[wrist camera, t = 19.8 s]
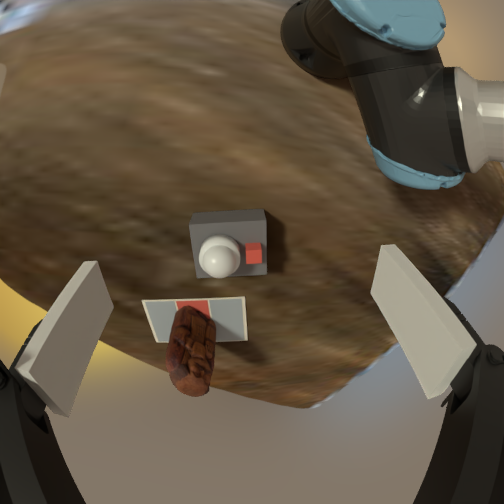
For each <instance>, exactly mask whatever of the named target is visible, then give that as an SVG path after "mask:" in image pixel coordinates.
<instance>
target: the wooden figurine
mask: <svg viewBox="0 0 504 504" xmlns="http://www.w3.org/2000/svg"><path fill="white" fill-rule="evenodd" d="M215 344H216V325H215V323H214V321H213V320H212V319H207V318H206V316H205V315H203V313H201V312H200V311H197V312H196V311H195V310H193V308H191V307H190V306H188V305H187V306H183V307H182V308H180V309H179V310H178V311H177V312H176V313H175V316H174V320H173V324H172V327H171V332H170V336H169V343H168V347H167V351H166V368H167V370H168V371H169V372H170V374H169V375H170V378H171V381H172V383H173V385H174V386H175V387H176V388H177V389H178V390H179V391H180V392H182V393H183V394H186V395H189V396H194V397H198V396H202V395H204V394H206V393H208V391H209V385H210V381H211V376H212V372H213V368H214V356H215Z"/></svg>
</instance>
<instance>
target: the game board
mask: <svg viewBox="0 0 504 504" xmlns="http://www.w3.org/2000/svg"><path fill="white" fill-rule="evenodd" d="M142 303H143V306H144V309H145V312H146V315H147V318H148V321H149V323H150V326H151V329H152V332H153V334H154V337H155V340H156V342H169V336H170V332H171V327H172V324H173V320H174V316H175V313H176V312H177V311H178V310H179V309H180V308H182V307H183V306H187V305H188V306H190V307H191V308H193V310H195V311H196V312H197V311H200V312H201V313H203V315H205V316H206V318H207V319H212V320H213V321H214V323H215V325H216V342H224V341H245V340H248V337H247V322H246V306H245V297H226V298H202V299H170V300H142Z"/></svg>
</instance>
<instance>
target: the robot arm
mask: <svg viewBox="0 0 504 504" xmlns="http://www.w3.org/2000/svg"><path fill="white" fill-rule="evenodd" d="M445 27H446V21H445V16H444V12H443V10H442V7H441V5H440V3H439V1H438V0H300V1H298V2H297V3H295V4H294V5H293V6H292V7H291V8H290V9H289V10H288V12H287V13H286V15H285V17H284V18H283V21H282V24H281V40H282V43H283V46H284V48H285V50H286V52H287V54H288V55H289V56H290V58H291V59H292V60H293V61H294V62H295V63H296V64H297V65H298V66H299V67H301V68H302V69H304V70H305V71H307V72H309V73H311V74H313V75H316V76H319V77H322V78H328V79H339V78H345V77H348V79H349V82H350V84H351V87H352V90H353V92H354V95H355V98H356V101H357V104H358V107H359V110H360V113H361V116H362V119H363V122H364V125H365V129H366V132H367V141H368V144H369V145H370V147H371V148H372V151H373V155H374V158H375V161H376V164H377V166H378V168H379V169H380V170H381V171H382V173H383V174H384V175H385V176H386V177H388V178H389V179H391V180H393V181H394V182H397V183H399V184H401V185H404V186H408V187H412V188H417V189H425V190H437V189H439V188H440V187H444V188H450V187H453V186H455V185H457V184H458V183H460V182H461V181H462V179H463V177H464V175H465V172H469V173H476V172H477V171H478V170H479V169H480V168H481V167H482V166H483V165H484V164H485V162H487V161H498V162H504V81H482V80H476V79H474V78H472V77H471V76H470V75H469V74H468V73H466V72H465V71H464V70H463V69H462V68H460V67H444V66H443V63H442V60H441V57H440V54H439V51H438V48H437V44H438V43H439V42H440V41H441V40H442V38H443V37H444V34H445V32H444V30H443V28H445ZM371 295H372V297H373V298H374V300H375V302H376V303H377V305H378V307H379V308H380V310H381V312H382V313H383V315H384V317H385V319H386V320H387V322H388V324H389V326H390V327H391V329H392V331H393V333H394V334H395V336H396V338H397V340H398V342H399V344H400V345H401V347H402V349H403V351H404V353H405V355H406V357H407V358H408V360H409V362H410V364H411V366H412V368H413V370H414V372H415V374H416V376H417V378H418V380H419V382H420V384H421V386H422V388H423V390H424V392H425V394H426V396H427V398H428V399H430V398H433V397H435V396H437V395H440V394H443V392H444V391H445V390H446V389H447V387H448V386H449V385H451V387H452V389H453V390H452V391H451V393H450V394H449V395H448V396H447V398H446V399H445V400H444V401H443V403H442V405H441V407H443V406H444V405H445V404H446V403H447V402H448V405H447V407H446V408H447V409H446V413H445V417H444V420H443V424H442V428H441V431H440V435H439V438H438V442H437V444H436V448H435V450H434V453H433V456H432V459H431V462H430V465H429V467H428V470H427V472H426V475H425V478H424V480H423V482H422V485H421V487H420V489H419V491H418V494H417V496H416V498H415V500H414V502H413V504H504V352H503V351H502V350H501V349H500V348H499V347H497V346H495V345H490V344H489V345H485V344H484V343H483V341H482V340H481V338H480V337H479V335H478V334H477V333H476V331H475V330H474V329H473V327H472V326H471V325H470V323H469V322H468V321H466V318H465V317H464V316H463V314H461V312H460V311H459V309H458V308H457V307H456V306H455V304H454V303H452V302H451V301H449V300H448V299H447V298H445V297H443V298H441V296H440V295H439V294H438V293H437V292H436V290H435V289H434V288H433V287H432V286H431V284H430V283H429V282H428V281H427V280H426V279H425V277H424V276H423V275H422V274H421V273H420V272H419V271H418V269H417V268H416V267H415V266H414V265H413V264H412V263H411V262H410V260H409V259H408V258H407V257H406V256H405V255H404V254H403V253H402V252H401V251H400V250H399V249H398V248H397V246H396V245H381V248H380V253H379V258H378V263H377V267H376V272H375V276H374V280H373V285H372V289H371ZM113 307H114V306H113V304H112V301H111V299H110V296H109V293H108V291H107V288H106V285H105V283H104V280H103V277H102V274H101V271H100V268H99V265H98V262H97V261H87V262H84V263H83V264H82V265H81V267H80V268H79V269H78V271H77V272H76V273H75V274H74V276H73V277H72V279H71V280H70V281H69V283H68V284H67V285H66V287H65V288H64V289H63V291H62V292H61V294H60V295H59V297H58V298H57V299H56V301H55V302H54V304H53V305H52V307H51V308H50V310H49V311H48V313H47V314H46V316H45V317H44V319H42V320H41V321H40V322H39V323H38V324H37V325H35V326H34V327H33V329H32V331H31V332H30V334H29V335H28V338H27V339H26V340H25V342H24V345H22V347H21V349H20V351H19V352H18V354H17V356H16V358H15V359H14V361H13V363H12V365H11V367H10V369H9V370H8V369H7V368H6V366H5V365H4V364H3V362H2V361H1V360H0V504H86V503H85V501H84V499H83V497H82V495H81V493H80V492H79V490H78V488H77V486H76V484H75V482H74V480H73V478H72V476H71V473H70V471H69V469H68V467H67V465H66V463H65V460H64V458H63V455H62V453H61V450H60V448H59V445H58V443H57V440H56V437H55V435H54V432H53V429H52V426H51V423H50V420H49V417H48V415H47V413H46V412H45V411H44V410H45V407H46V405H47V406H48V407H49V408H50V409H51V410H52V411H53V412H54V413H55V414H59V415H63V416H66V417H69V414H70V412H71V409H72V406H73V403H74V400H75V397H76V395H77V392H78V389H79V386H80V384H81V381H82V379H83V376H84V374H85V371H86V369H87V366H88V364H89V361H90V359H91V356H92V354H93V351H94V349H95V347H96V345H97V342H98V340H99V338H100V335H101V333H102V331H103V329H104V327H105V324H106V322H107V320H108V318H109V316H110V314H111V312H112V310H113Z"/></svg>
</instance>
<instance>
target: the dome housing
mask: <svg viewBox="0 0 504 504" xmlns="http://www.w3.org/2000/svg"><path fill="white" fill-rule="evenodd" d="M189 229H190V236H191V243H192V249H193V256H194V262H195V268H196V275H197V278H210V277H212V276H210V275H209V274H208V273H206V272H205V271H204V270H203V269H202V267H201V266H200V263H199V254H200V250H201V246H202V244H203V242H204V241H205V240H206V239H207V238H208V237H210V236H212V235H216V234H224V235H227V236H230V237H232V238H233V239H234V240H235V241H236V242H237V243H238V245H239V248H240V265H239V267H238V269H237V270H236V271H235V272H234V273H232V274H231V275H229V276H227V277H230V276H248V275H265V274H267V237H266V217H265V213H264V209H251V210H232V211H216V212H201V213H193V215H192V218H191V221H190V223H189Z"/></svg>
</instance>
